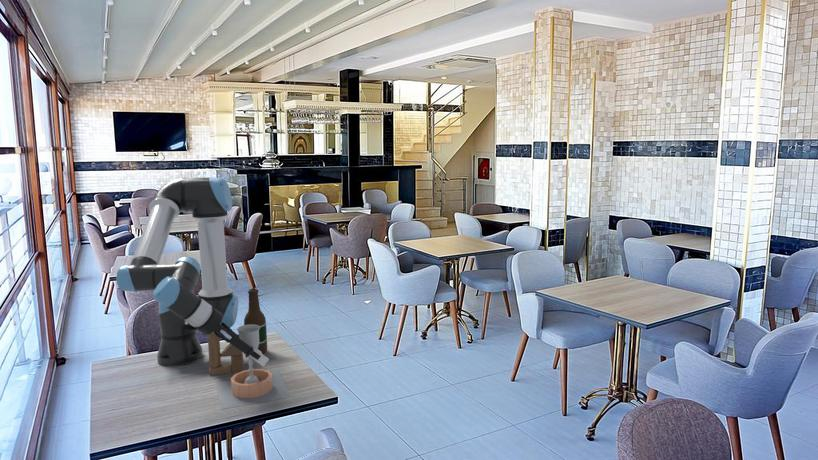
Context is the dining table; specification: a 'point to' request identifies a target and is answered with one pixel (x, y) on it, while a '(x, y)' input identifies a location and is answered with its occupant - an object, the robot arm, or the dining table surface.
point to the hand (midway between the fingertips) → (262, 358)
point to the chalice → (252, 339)
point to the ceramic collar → (251, 389)
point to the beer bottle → (257, 319)
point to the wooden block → (216, 356)
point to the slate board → (232, 401)
